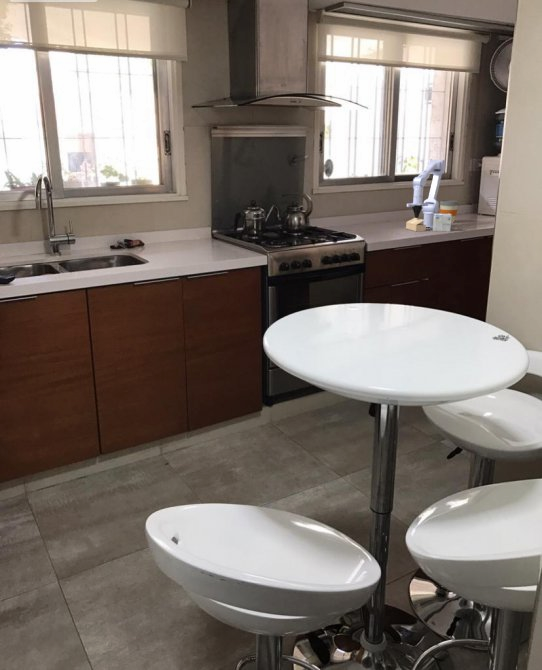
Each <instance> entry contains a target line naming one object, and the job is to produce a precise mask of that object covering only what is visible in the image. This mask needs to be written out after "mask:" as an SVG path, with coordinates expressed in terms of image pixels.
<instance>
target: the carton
mask: <svg viewBox="0 0 542 670" xmlns="http://www.w3.org/2000/svg"><path fill="white" fill-rule="evenodd" d="M408 229H409V231H411V230H413V231H412V232H415V231H421V232H426V229H427V228H426V225H424V224H423V223H420V224H418V225H413V224H409V223H405V230H408Z"/></svg>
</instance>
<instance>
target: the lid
mask: <svg viewBox="0 0 542 670" xmlns="http://www.w3.org/2000/svg"><path fill="white" fill-rule="evenodd" d="M424 221H425V220H424V219H422V218H419V217H418V218H415V217H413V218H412V219H410V220H407V221H406V223H409V224H413V225H418V224H422V223H423V222H424ZM406 223H405V224H406Z"/></svg>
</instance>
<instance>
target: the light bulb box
mask: <svg viewBox="0 0 542 670" xmlns="http://www.w3.org/2000/svg"><path fill="white" fill-rule="evenodd" d="M451 227H452V223H451V214H440V213H436V214H434V217H433V228H432V231H433V232H451Z"/></svg>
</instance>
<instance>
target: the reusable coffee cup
mask: <svg viewBox="0 0 542 670" xmlns="http://www.w3.org/2000/svg"><path fill="white" fill-rule="evenodd" d="M439 205H440V206H439V207H440V208H439V214H451V222H454V223H455V220H456V216H457V213H458V206H459V201H458V200H453V199H449V200H448V199H444V200H440V203H439Z"/></svg>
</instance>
